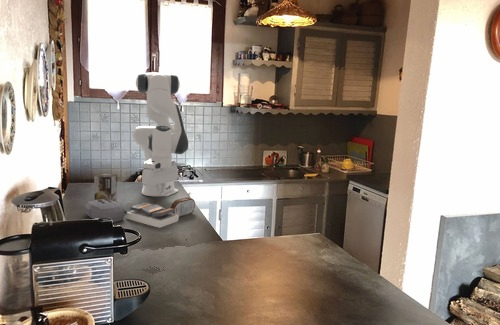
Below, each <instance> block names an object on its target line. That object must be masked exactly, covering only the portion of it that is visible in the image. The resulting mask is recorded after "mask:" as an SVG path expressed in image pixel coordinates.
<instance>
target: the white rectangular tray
mask: <svg viewBox="0 0 500 325" xmlns="http://www.w3.org/2000/svg"><path fill="white" fill-rule="evenodd" d="M124 211H125V213H126V219H127V220H131V221H134V222H137V223H141V224H144V225H148V226H152V227H155V228H158V229H160V228H164V227H166V226H168V225H171V224H174V223H177V222H179V218H180V217H179V215H178V214H174V213H169V214H166V215H163V216H152V215H147V214H145V213H143V212H141V211H140V212H137V211H134V210H130V211H129V210H125V209H124Z"/></svg>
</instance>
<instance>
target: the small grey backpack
mask: <svg viewBox="0 0 500 325" xmlns="http://www.w3.org/2000/svg"><path fill="white" fill-rule="evenodd" d="M124 210H125V209H124V207H123V206H122V205H121V203H120V202H118V201H117V200H116V201H111V200H108V199H106V198H104V199H98V200H95V199H93V200H89V201H87V202H86V203H85V206H84V212H85V214H86V216H88V217H89V218H90V219H91V218H92V220H93V219H95V218H108V217H111V218H112V220H113V222H112V223H118V222H120V221H122V220H123V219H124V217H125V211H124Z"/></svg>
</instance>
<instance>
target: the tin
mask: <svg viewBox="0 0 500 325" xmlns="http://www.w3.org/2000/svg"><path fill="white" fill-rule="evenodd" d="M195 207H196V201H195V200H194V199H193V198H191V197H189V196H187V197H183V198H177V199H176V200H173V202H172V203H171V205H170V208H169V209H175V212H172V213H174V214H178V215H179V218H180V217H184V216H188V215H191V214H192V213H193V212H194V211H195Z"/></svg>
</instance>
